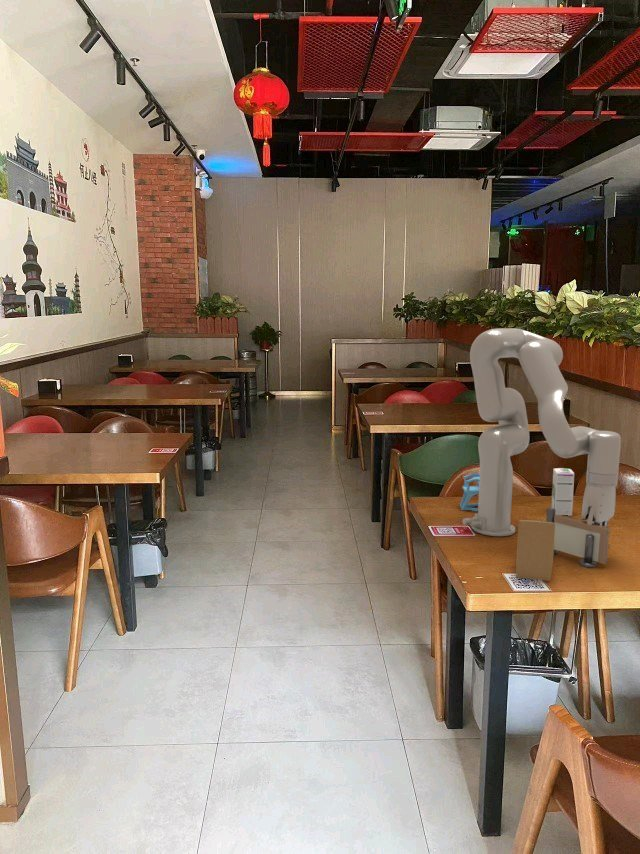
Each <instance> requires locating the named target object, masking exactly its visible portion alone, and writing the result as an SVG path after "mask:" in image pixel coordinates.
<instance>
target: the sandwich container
mask: <svg viewBox="0 0 640 854" xmlns="http://www.w3.org/2000/svg"><path fill="white" fill-rule="evenodd" d="M517 527H518V530H517V531H518V532H517V544H516V546H517V547H516V560H515V576H516V578H523V579H529V580H530V579H532V580H540V581H547V582H551V580H552V573H553V571H552V570H553V565H554V564H553V563H554V562H553V561H554V555H555V554H554V539H555V523H551V522H546V521H542V520H527V519H519V520H518V526H517Z"/></svg>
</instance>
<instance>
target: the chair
mask: <svg viewBox="0 0 640 854" xmlns="http://www.w3.org/2000/svg"><path fill="white" fill-rule="evenodd" d="M462 478H463V480H464V483H463V485H462V486H461V487H462V490H463V494H462V498H461V501H460V505H459V508H460V511H467V510H472V511H471V512H477V511H478V503H479V502H478V503H477V502H475V503H469V502H470V500H471V499H472V498H473V497H474V496H475V495H479V483H480V473H473V472H472V473H470V474H468V475H465V476H462ZM473 482H477V483H478V485H470V483H473ZM475 506H477V507H475Z"/></svg>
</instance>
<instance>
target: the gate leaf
mask: <svg viewBox="0 0 640 854" xmlns="http://www.w3.org/2000/svg"><path fill="white" fill-rule="evenodd" d="M554 522H555V539H554V549H555V550H558V552H559V551H560V552H561V553H566V554H569V555H573V556H576V557H578V558H582V559H584V553H585V541H586V535H587V534H590V535H594V546H593V558H592V561H595V562H596V563H598V564H599V563H600V564H602V565H605V564H607V562H608V553H609V548H608V543H609V540H610V533H611V527H610V526H608V527H606V526H602V525H598V524H593V525H588V524H587V522H588V521H586V520H582V519H579V518H573V517H571V516H561V515H555V516H554Z"/></svg>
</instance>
